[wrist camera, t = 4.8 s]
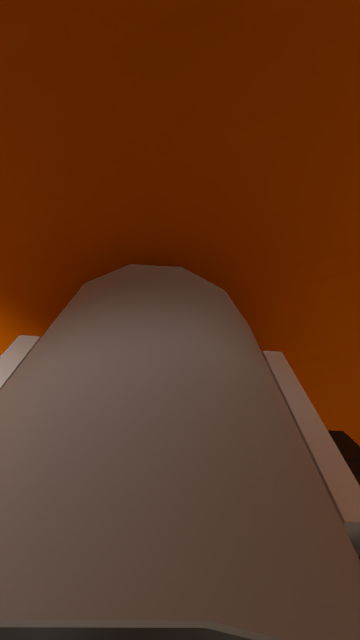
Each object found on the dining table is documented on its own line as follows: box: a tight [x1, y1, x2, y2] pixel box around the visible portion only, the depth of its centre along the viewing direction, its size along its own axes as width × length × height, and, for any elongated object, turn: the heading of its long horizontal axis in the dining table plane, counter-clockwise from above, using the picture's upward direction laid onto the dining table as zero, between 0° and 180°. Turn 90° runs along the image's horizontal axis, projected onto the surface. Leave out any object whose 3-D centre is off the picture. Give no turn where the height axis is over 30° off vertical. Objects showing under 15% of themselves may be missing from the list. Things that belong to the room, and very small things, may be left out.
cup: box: [0, 264, 360, 640], centre depth 9 cm, size 8×8×10 cm
